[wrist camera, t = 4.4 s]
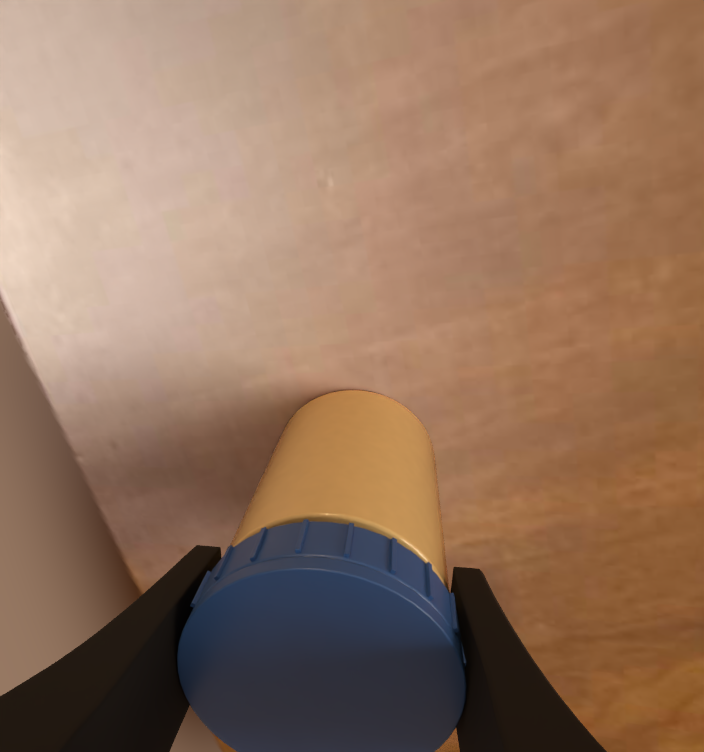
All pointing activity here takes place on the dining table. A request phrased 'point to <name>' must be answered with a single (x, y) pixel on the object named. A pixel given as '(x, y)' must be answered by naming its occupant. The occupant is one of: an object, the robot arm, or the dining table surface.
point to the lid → (324, 645)
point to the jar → (354, 474)
